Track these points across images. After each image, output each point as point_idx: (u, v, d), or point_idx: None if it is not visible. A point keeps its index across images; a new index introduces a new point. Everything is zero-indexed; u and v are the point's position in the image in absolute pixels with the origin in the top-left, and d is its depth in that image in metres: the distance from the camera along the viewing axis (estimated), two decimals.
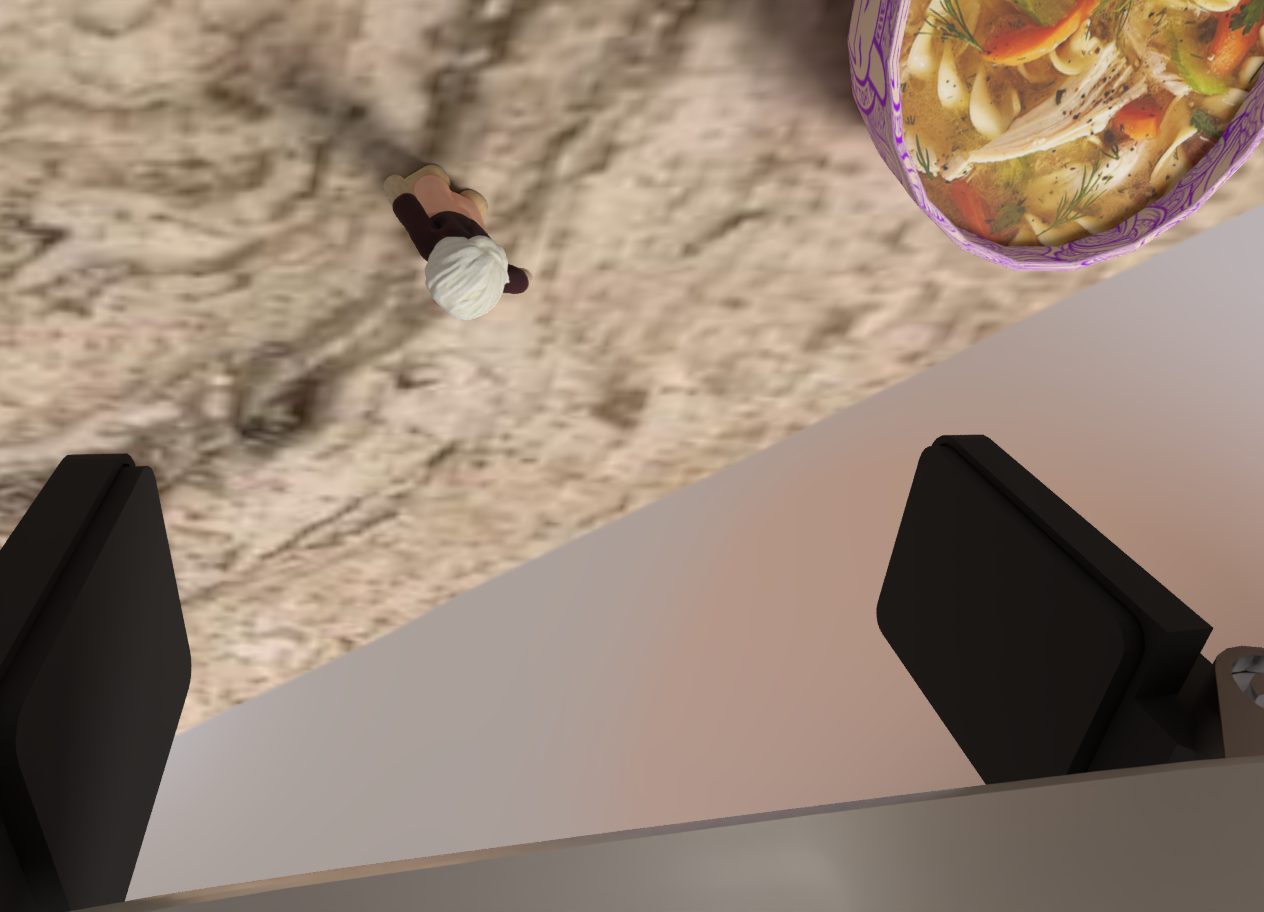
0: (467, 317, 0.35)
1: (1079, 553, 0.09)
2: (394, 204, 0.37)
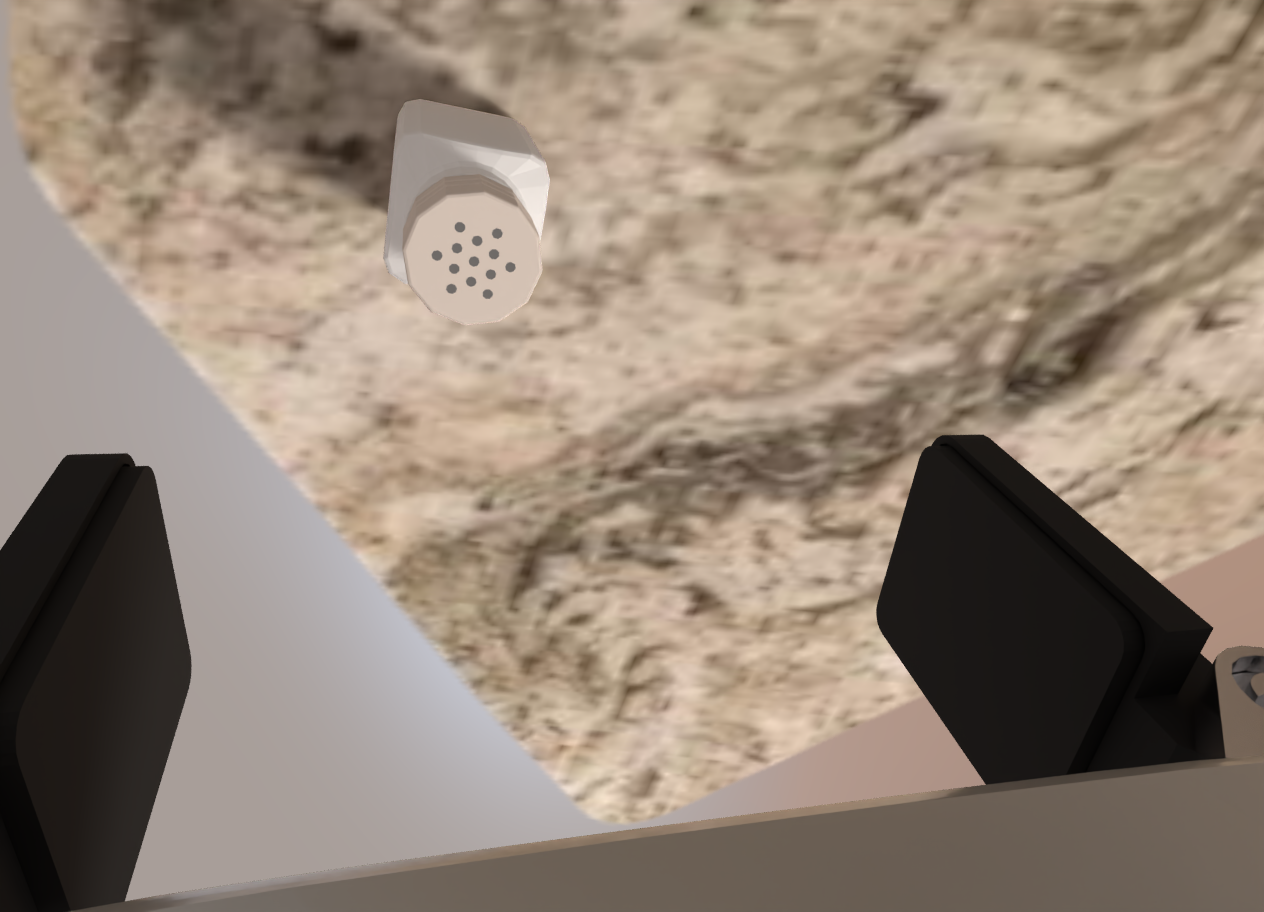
0: None
1: (1079, 553, 0.09)
2: None
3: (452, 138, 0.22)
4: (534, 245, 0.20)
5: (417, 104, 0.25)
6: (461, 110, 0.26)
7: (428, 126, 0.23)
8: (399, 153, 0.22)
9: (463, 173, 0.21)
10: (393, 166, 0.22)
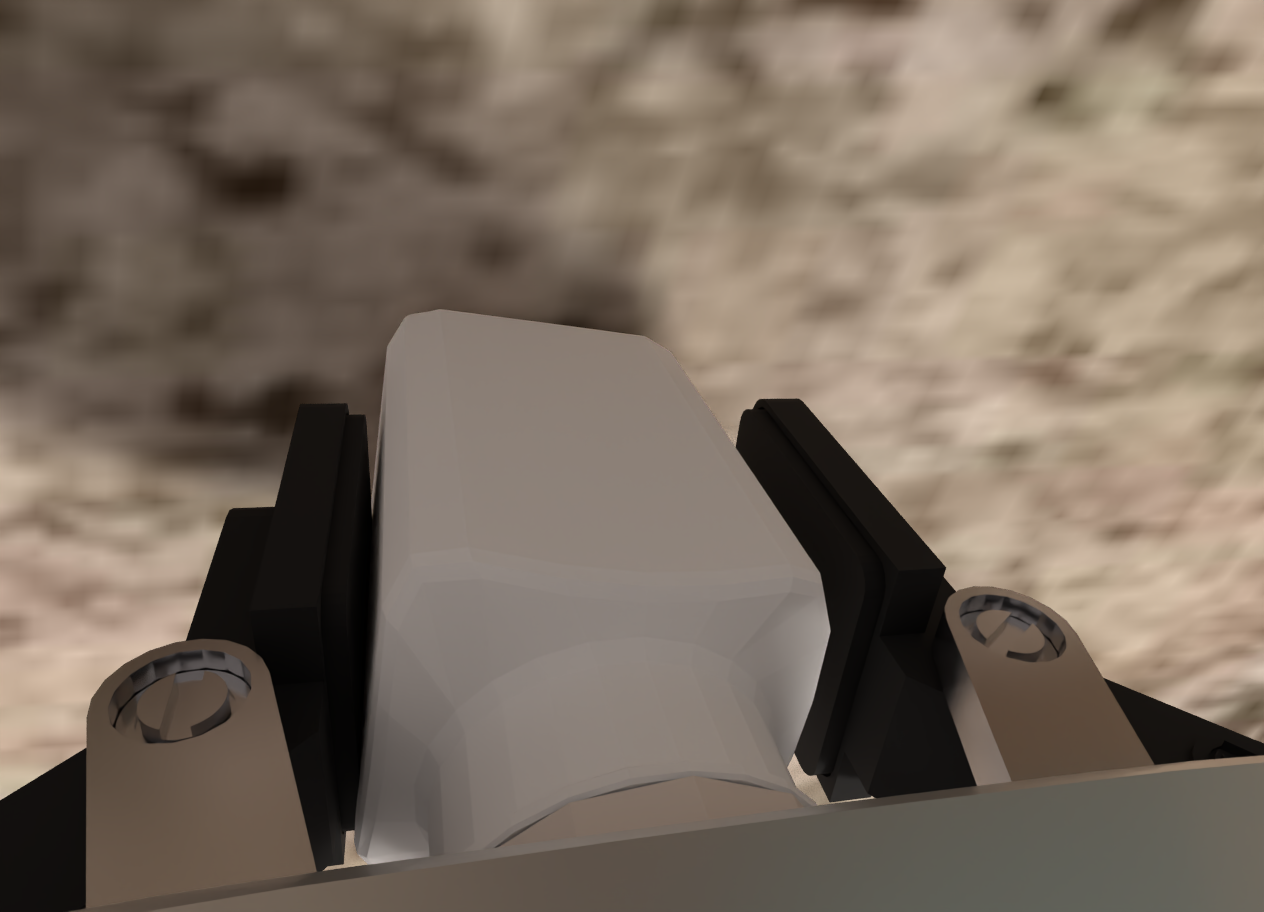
0: None
1: (845, 502, 0.09)
2: None
3: (568, 566, 0.07)
4: None
5: (436, 339, 0.10)
6: (538, 339, 0.11)
7: (484, 494, 0.07)
8: (399, 625, 0.07)
9: (636, 778, 0.06)
10: (381, 653, 0.07)
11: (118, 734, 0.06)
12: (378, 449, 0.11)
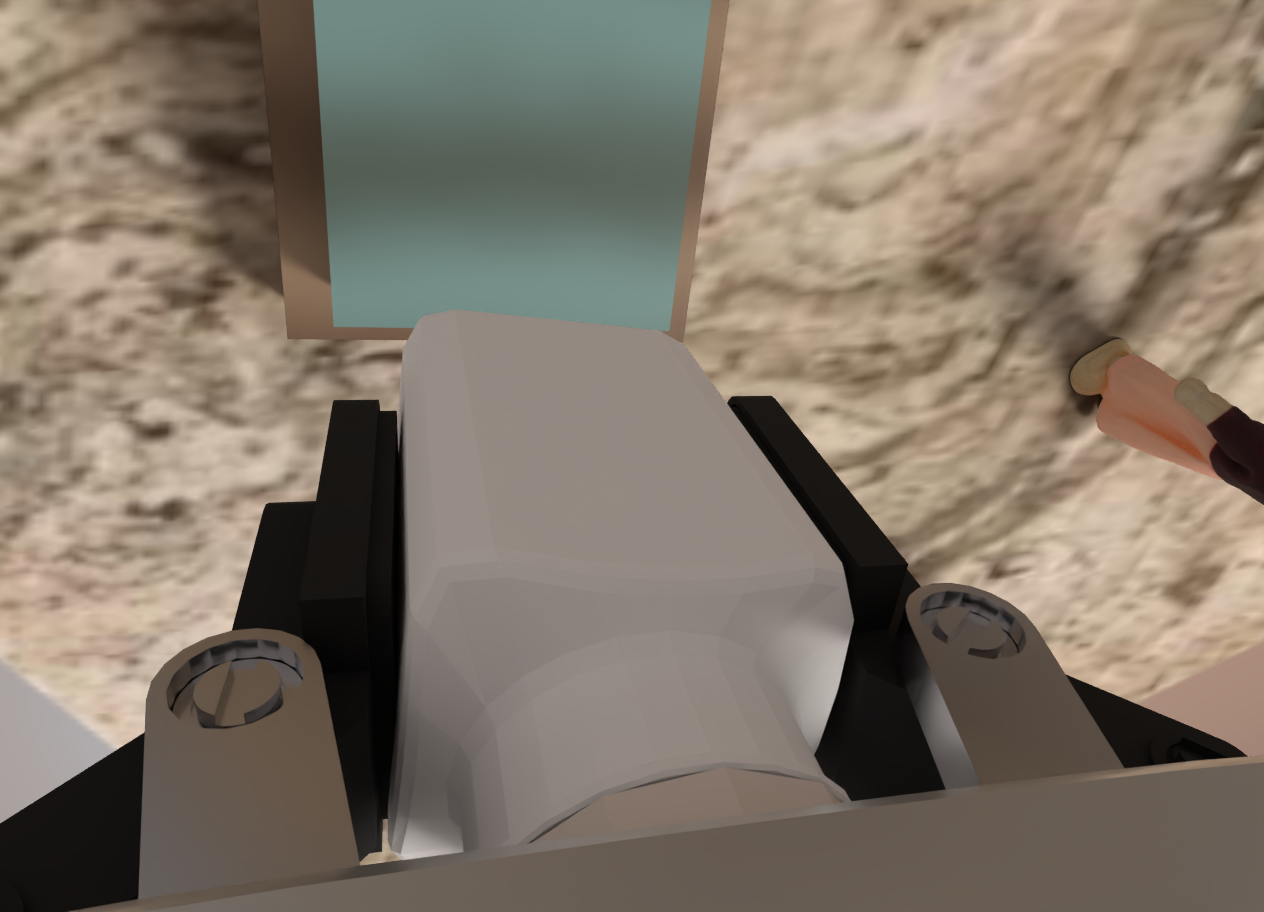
0: None
1: (811, 499, 0.09)
2: (1223, 421, 0.30)
3: (593, 562, 0.07)
4: None
5: (452, 339, 0.10)
6: (553, 337, 0.11)
7: (507, 493, 0.08)
8: (427, 624, 0.07)
9: (668, 770, 0.06)
10: (410, 653, 0.07)
11: (178, 719, 0.06)
12: None
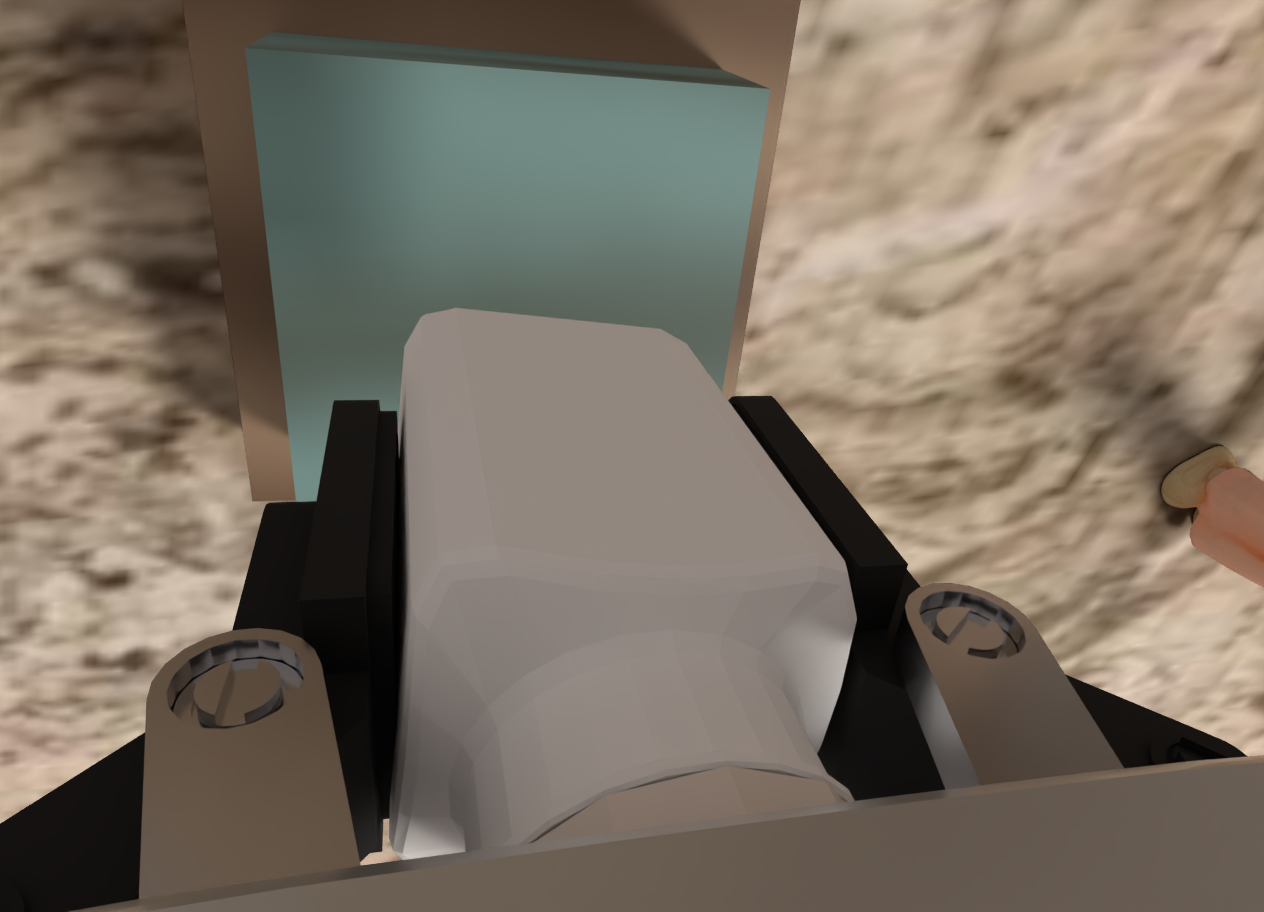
0: None
1: (811, 499, 0.09)
2: None
3: (595, 561, 0.07)
4: None
5: (453, 338, 0.10)
6: (554, 335, 0.11)
7: (508, 492, 0.08)
8: (429, 624, 0.07)
9: (671, 769, 0.06)
10: (411, 652, 0.07)
11: (178, 719, 0.06)
12: None
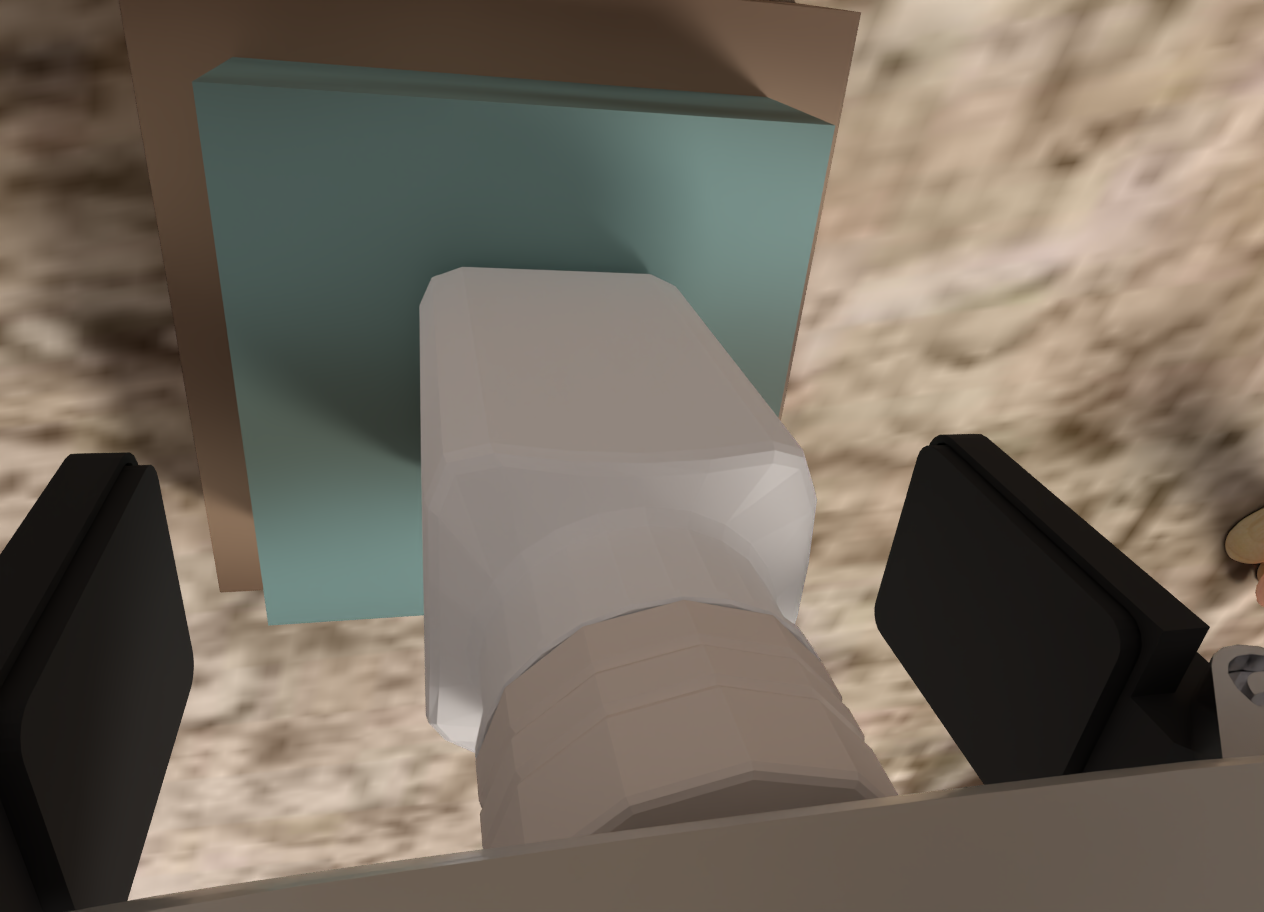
0: None
1: (1076, 552, 0.09)
2: None
3: (575, 452, 0.08)
4: None
5: (459, 291, 0.12)
6: (551, 284, 0.12)
7: (503, 404, 0.09)
8: (438, 512, 0.08)
9: (637, 604, 0.07)
10: (427, 539, 0.08)
11: None
12: (420, 397, 0.12)
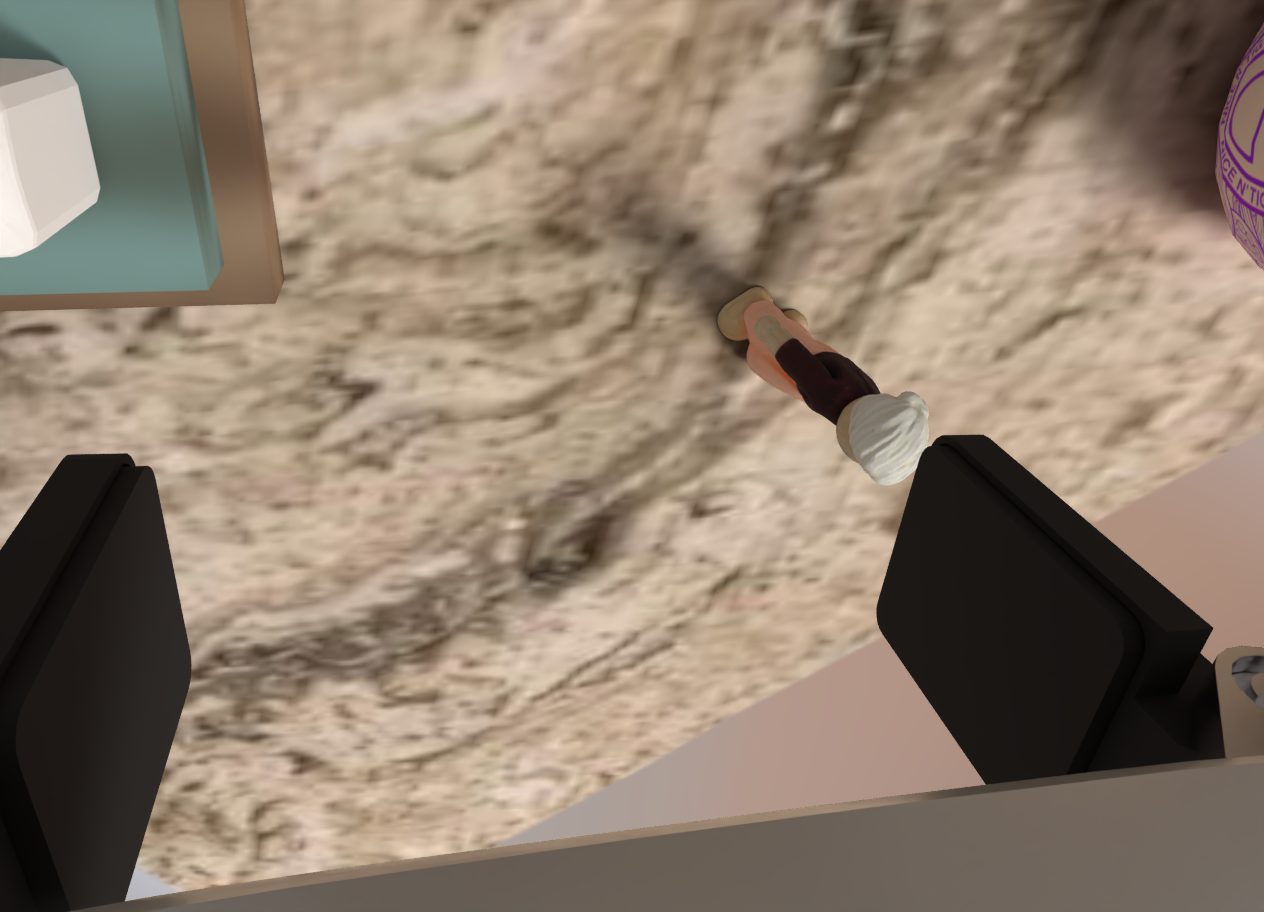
0: (894, 482, 0.31)
1: (1079, 553, 0.09)
2: (781, 352, 0.33)
3: None
4: None
5: None
6: None
7: None
8: None
9: None
10: None
11: None
12: None
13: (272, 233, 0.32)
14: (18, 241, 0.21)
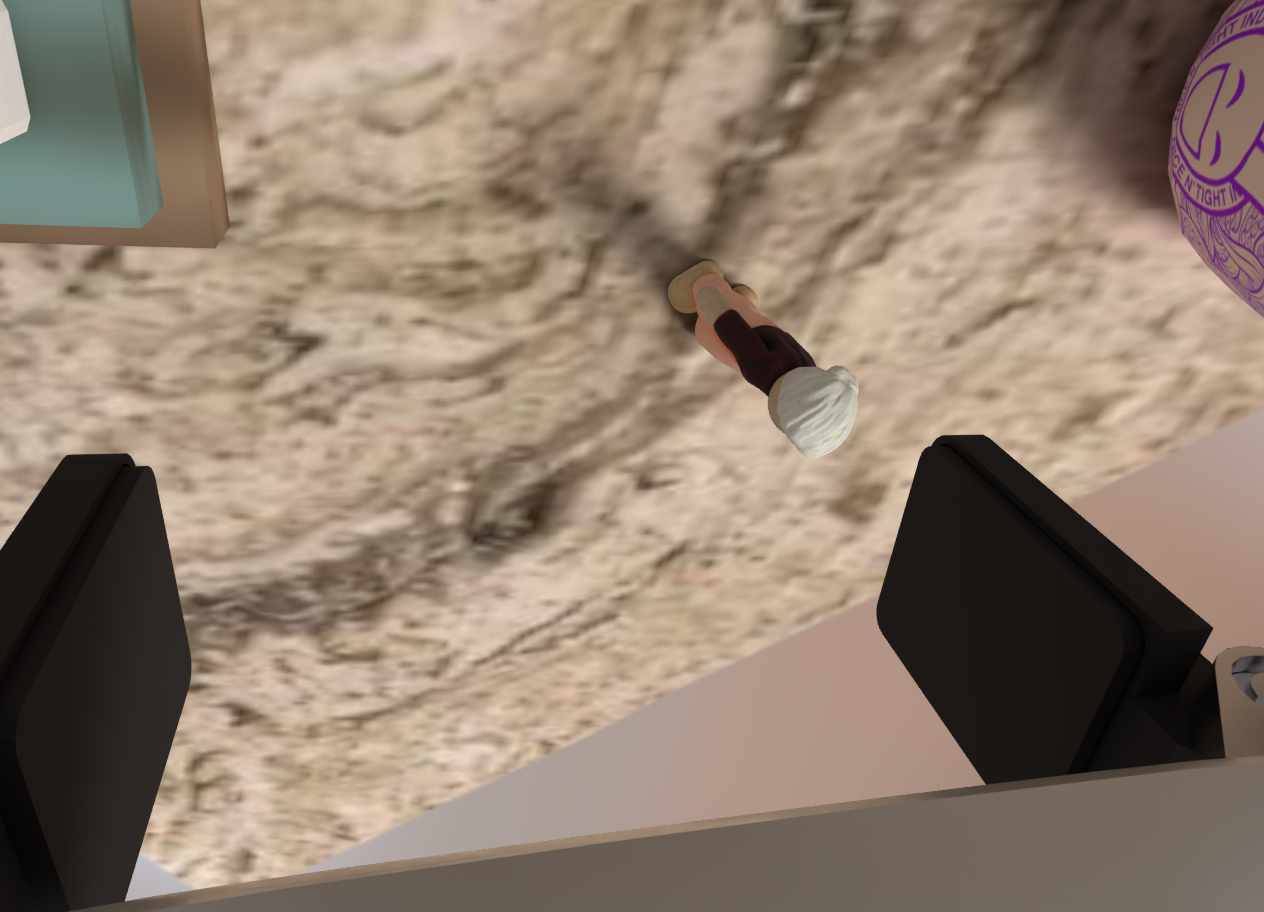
0: (820, 455, 0.31)
1: (1079, 553, 0.09)
2: (718, 322, 0.33)
3: None
4: None
5: None
6: None
7: None
8: None
9: None
10: None
11: None
12: None
13: (216, 178, 0.32)
14: None
